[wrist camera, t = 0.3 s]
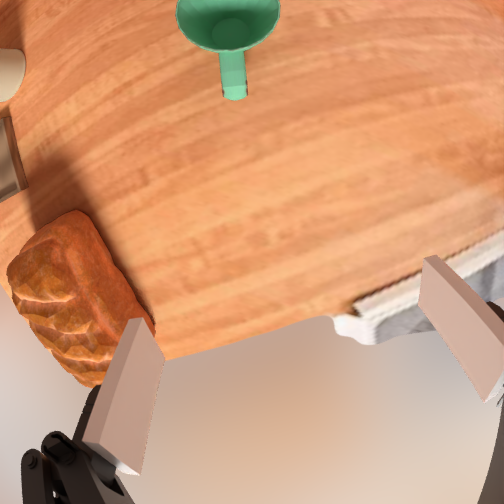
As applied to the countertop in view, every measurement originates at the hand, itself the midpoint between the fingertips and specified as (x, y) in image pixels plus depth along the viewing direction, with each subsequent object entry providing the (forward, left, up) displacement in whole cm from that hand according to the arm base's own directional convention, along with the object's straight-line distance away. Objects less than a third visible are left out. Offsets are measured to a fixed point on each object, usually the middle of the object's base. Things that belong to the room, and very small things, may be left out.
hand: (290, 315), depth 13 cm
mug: (-17, 0, -28) cm, 33 cm away
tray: (-15, -42, -27) cm, 52 cm away
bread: (+11, -30, -28) cm, 42 cm away
